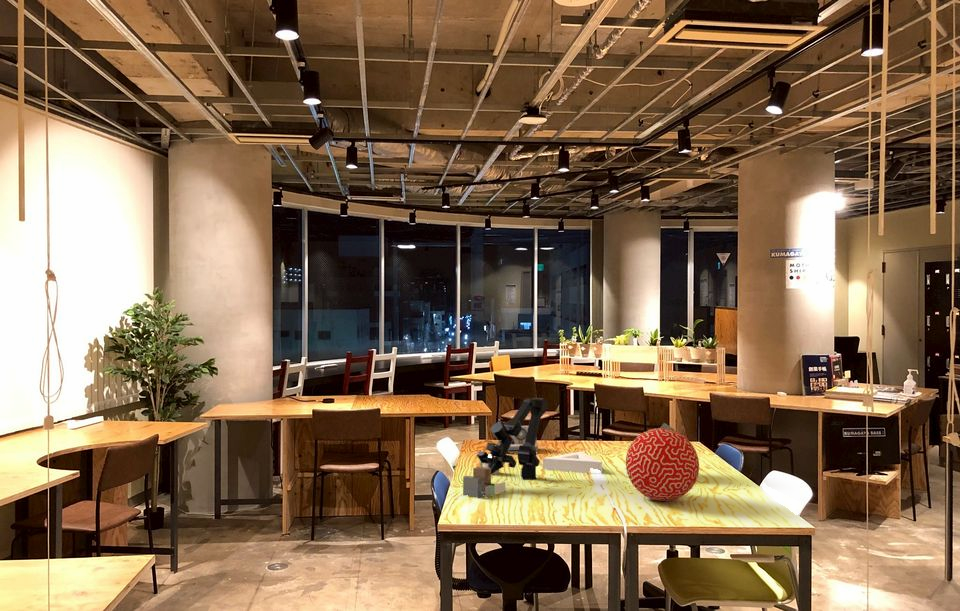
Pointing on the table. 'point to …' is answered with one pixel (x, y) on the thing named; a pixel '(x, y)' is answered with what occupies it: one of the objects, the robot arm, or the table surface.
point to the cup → (487, 466)
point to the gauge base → (493, 489)
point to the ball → (662, 464)
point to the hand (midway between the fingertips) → (488, 474)
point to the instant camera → (520, 440)
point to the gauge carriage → (483, 476)
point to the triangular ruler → (572, 462)
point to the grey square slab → (472, 486)
